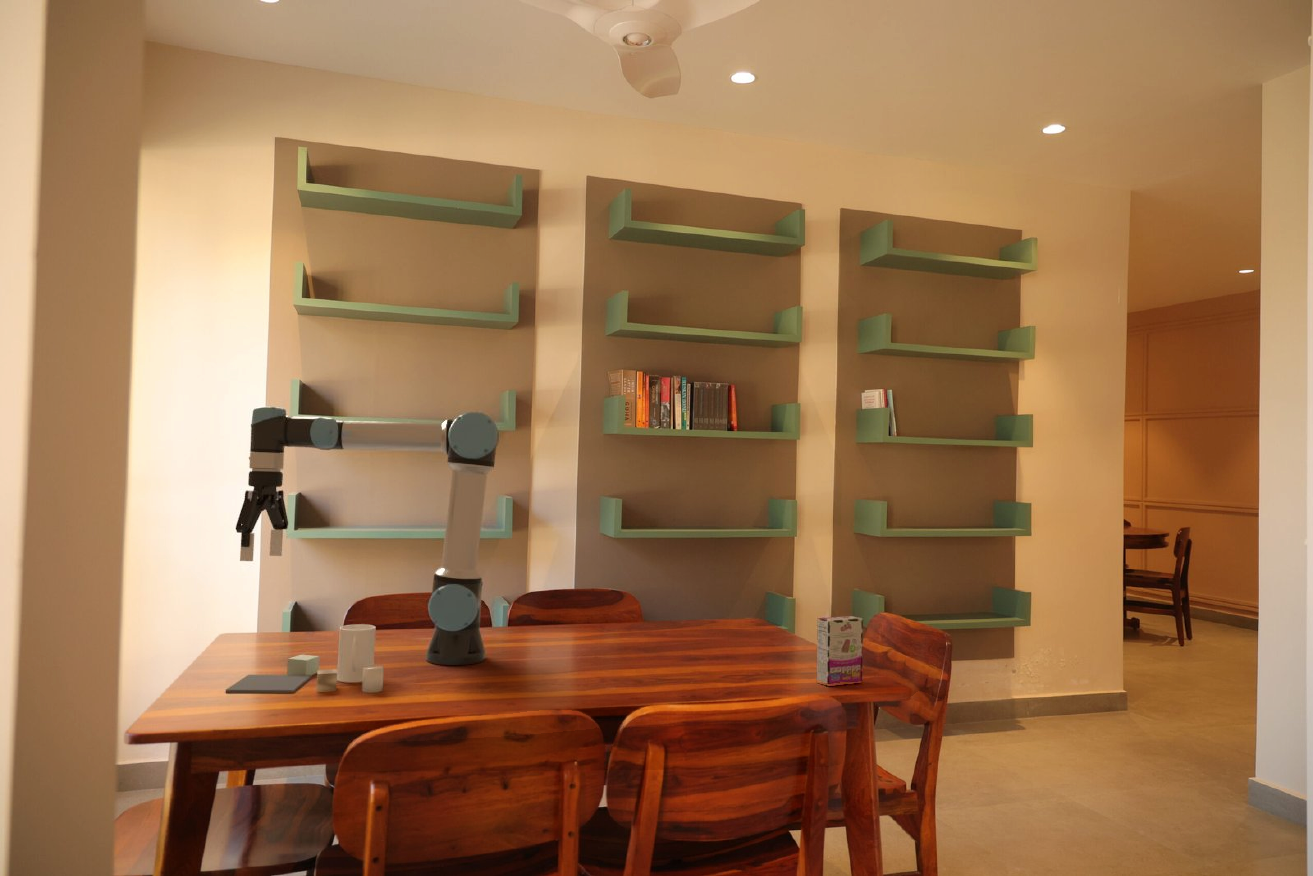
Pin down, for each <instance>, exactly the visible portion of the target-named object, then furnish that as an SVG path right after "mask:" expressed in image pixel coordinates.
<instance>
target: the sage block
mask: <svg viewBox="0 0 1313 876" xmlns="http://www.w3.org/2000/svg"><path fill="white" fill-rule="evenodd" d="M286 666H287V668H286V669H287V670H286V675H311V676H312V675H315V674H317V671H318V670H320V655H311V654H310V655H308V654H299V655H295V656H292V657H289V658H287V665H286Z"/></svg>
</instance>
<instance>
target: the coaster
mask: <svg viewBox="0 0 1313 876" xmlns="http://www.w3.org/2000/svg"><path fill="white" fill-rule="evenodd" d="M311 679H312V675H287V674H248V675H245V676H244V677H243V678H241V679H240V680H238V681H237V682H236V683H234V684H233V685H231V686H229V687H228V688H226V689H225V693H226V694H228V693H229V694H230V693H233V694H235V693H237V694H239V693H240V694H241V693H242V694H244V693H245V694H246V693H247V694H250V693H253V694H295V692H296V691H298V690H299V689H300V688H301V687H302V686H304V684H306V683H307V682H309V680H311Z"/></svg>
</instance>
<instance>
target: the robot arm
mask: <svg viewBox="0 0 1313 876" xmlns="http://www.w3.org/2000/svg"><path fill="white" fill-rule="evenodd" d="M251 416H252V417H251V424H250V447H249V448H250V449H249V457H248V460H249V469H251V470H250V471H249V472H248V483H247V485H248V486H249V487H253V489H252V490H245V492H244V500H243V504H242V506H241V509H240V513H239V516H238V519H237V521H236V525H235V530H236V533H237V534H238V533H240V534H241V535H240V553H239V555H240V556H239V557H240V558H239V561H240V562H253V561H254V552H255V551H254V548H255V547H254V546H255V533H254V532H253V531H254V529H255V528H256V525H257V522H258V520H259V519H260V516H261V513H262V512H263V511H266V513H267V516H268V518H269V521H270V523H271V524H270V525H271V526H272V529H270V542H269V556H270V557H282V556H283V537H284V535H283V534H284V530H288V528H289V519H288V515H287V509H286V505H285V499H284V493H285V492H284V490H282V489H277V488H280V487H282V486H283V480H284V477H283V476H284V473H283V472H282V471H281V470H284V461H285V459H284V457H285V447H288V448H290V447H291V448H293V447H295V448H312V449H319V450H323V451H330V450H340V451H341V450H351V451H352V450H359V451H361V450H362V451H366V450H367V451H401V452H403V451H411V452H413V451H415V452H442V453H444V455H446V456H447V461H446V462H447V465H448V467H449V468H450V469H451V470H452V473H451V481H450V490H449V499H448V505H447V506H448V508H447V515H446V522H445V523H446V524H445V531H444V533H445V534H444V541H443V549H442V557H441V558H442V559H441V566H440V567H438V569H437V570H435V571H434V573H433V582H432V590H431V596H430V597H429V600H428V603H427V610H428V614H429V618H430V619H431V621H432V622H433V624H434V631H433V634H432V637H431V639H430V641H429V645H428V647H427V650H426V657H425V658H426V659H425V660H426V661H427V662H428V663H431V664H434V665H440V666H441V665H442V666H466V665H474V664H478V663H482V662H484V661H485V660H486V649H485V645H484V641H483V638H482V634H481V633H482V632H481V629H480V628H481V610H482V609H481V608H482V591H483V589H482V588H483V575H482V573H480V572H479V571H478V569H477V566H478V559H479V558H478V557H479V548H480V541H481V539H480V538H481V531H482V523H483V522H482V521H483V514H484V506H485V497H486V496H485V495H486V487H487V478H488V474H489V473H490V472H492V470H494V469H495V463H496V454H497V448H498V447H497V446H498V444H499V439H500V438H499V437H500V435H499V430H498V427H497V425H496V422H495V421H494V420H493V419H492V418H491V417H490V416H489V415H487V414H485V413H484V412H480V411H479V412H478V411H467V412H464V413H462V414H460V415H459V416H457V417H456V418H455V419H449V418H448V419H446V420H445V421H443V422H407V421H405V422H404V421H363V420H361V421H358V420H357V421H356V420H354V421H353V420H336V419H335V418H332V417H325V416H292V415H287V410H286V409H285V408H284V407H277V406H256V407H255V408H254V409H253V410H252V415H251ZM484 659H485V660H484ZM483 660H484V661H483Z"/></svg>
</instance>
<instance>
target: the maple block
mask: <svg viewBox="0 0 1313 876" xmlns="http://www.w3.org/2000/svg"><path fill="white" fill-rule="evenodd" d="M316 674H317V675H316V693H323V692H324V693H325V692H337V685H338V684H337V683H338V681H337V668H332V669H330V668H329V669H328V668H327V669H319V670H318V671H317V673H316Z"/></svg>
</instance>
